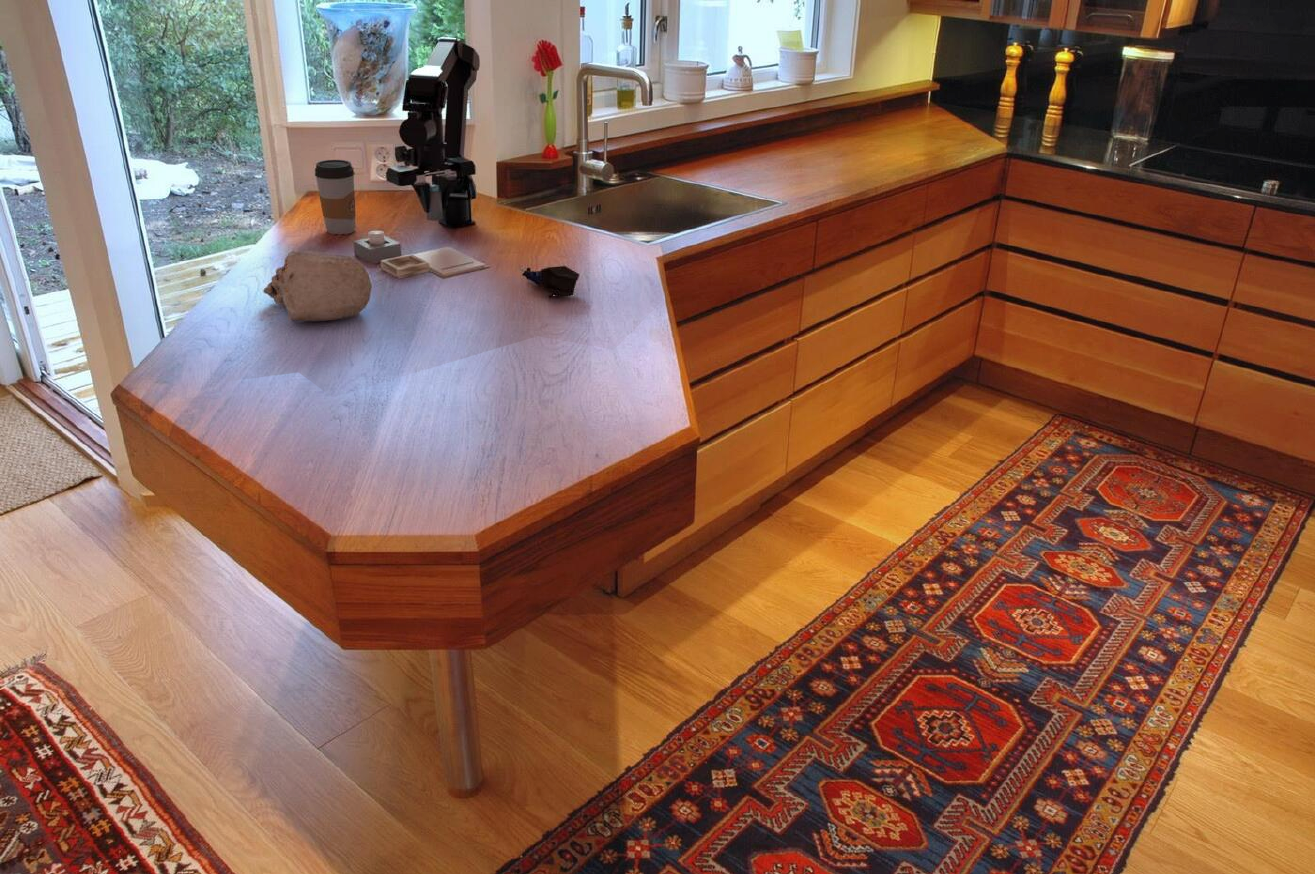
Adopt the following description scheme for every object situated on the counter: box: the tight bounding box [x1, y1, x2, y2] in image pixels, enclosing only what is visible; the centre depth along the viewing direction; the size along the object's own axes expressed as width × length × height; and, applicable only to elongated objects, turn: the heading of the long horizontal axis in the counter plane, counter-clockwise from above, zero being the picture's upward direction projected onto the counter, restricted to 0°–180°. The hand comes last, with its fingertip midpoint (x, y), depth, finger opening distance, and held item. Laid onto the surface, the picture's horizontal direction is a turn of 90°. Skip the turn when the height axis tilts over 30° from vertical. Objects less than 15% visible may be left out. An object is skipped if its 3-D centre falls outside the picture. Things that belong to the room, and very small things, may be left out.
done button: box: [367, 230, 385, 246], centre depth 210 cm, size 3×3×3 cm
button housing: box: [353, 235, 402, 264], centre depth 211 cm, size 7×7×3 cm
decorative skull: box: [262, 249, 372, 323], centre depth 182 cm, size 12×18×20 cm
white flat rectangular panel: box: [412, 246, 490, 279], centre depth 210 cm, size 11×15×1 cm
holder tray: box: [380, 253, 430, 279], centre depth 205 cm, size 7×7×2 cm
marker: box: [425, 184, 443, 222], centre depth 215 cm, size 3×3×7 cm
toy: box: [517, 265, 580, 297], centre depth 197 cm, size 9×6×15 cm
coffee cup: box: [314, 159, 357, 236], centre depth 222 cm, size 8×8×15 cm
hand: (434, 211), depth 216 cm, fingers closed on marker, 3 cm apart
